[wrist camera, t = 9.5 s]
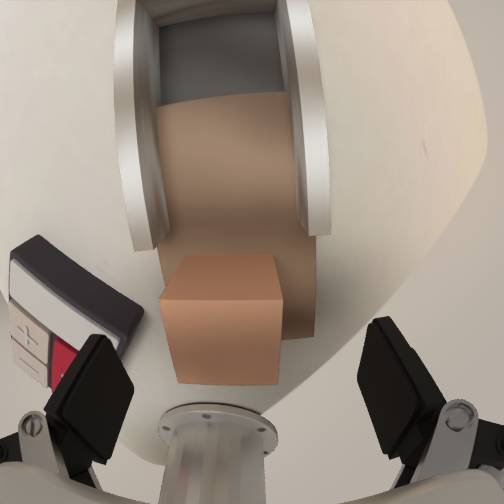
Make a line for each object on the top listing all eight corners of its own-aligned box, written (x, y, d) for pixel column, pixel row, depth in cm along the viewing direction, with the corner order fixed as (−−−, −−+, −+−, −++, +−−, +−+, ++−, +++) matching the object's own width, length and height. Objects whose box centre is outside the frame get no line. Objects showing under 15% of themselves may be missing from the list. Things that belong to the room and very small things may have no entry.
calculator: (9, 363, 17) (3, 252, 12) (28, 339, 21) (38, 231, 16) (93, 423, 20) (125, 345, 15) (106, 393, 23) (146, 307, 18)
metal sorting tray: (309, 324, 19) (323, 366, 15) (185, 332, 19) (172, 375, 15) (287, 3, 11) (299, -35, 7) (146, 21, 11) (119, -9, 7)
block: (271, 327, 17) (277, 384, 12) (193, 327, 17) (178, 383, 12) (272, 254, 15) (283, 299, 11) (184, 255, 15) (158, 299, 11)
